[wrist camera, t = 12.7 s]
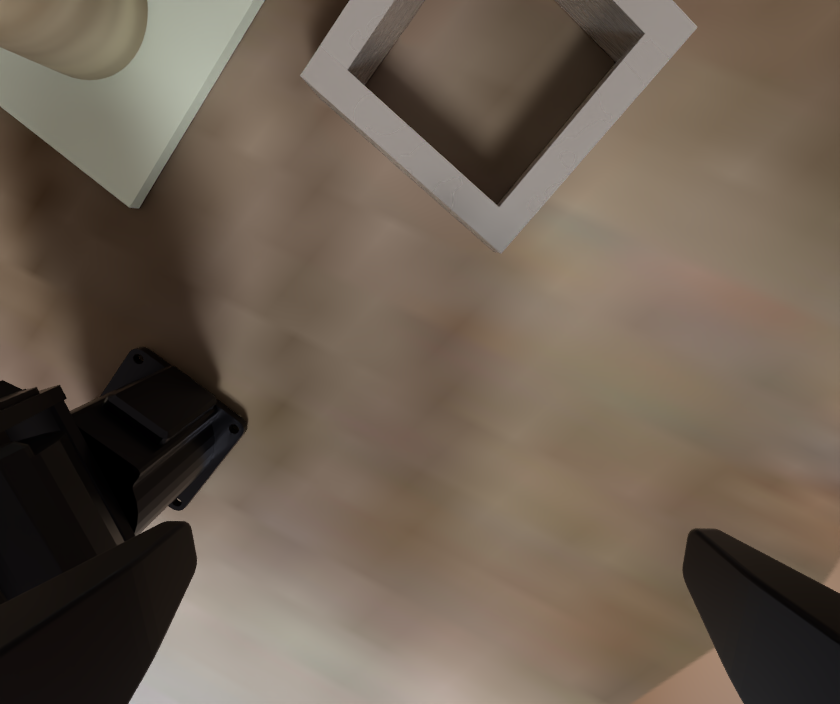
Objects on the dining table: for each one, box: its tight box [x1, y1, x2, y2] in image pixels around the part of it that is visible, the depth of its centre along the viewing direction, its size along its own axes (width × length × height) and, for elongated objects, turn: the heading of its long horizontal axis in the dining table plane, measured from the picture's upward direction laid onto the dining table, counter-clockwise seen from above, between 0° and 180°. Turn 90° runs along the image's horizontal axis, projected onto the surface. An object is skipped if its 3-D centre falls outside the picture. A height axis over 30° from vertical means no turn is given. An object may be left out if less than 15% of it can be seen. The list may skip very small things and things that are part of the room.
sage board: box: [0, 0, 265, 209], centre depth 17 cm, size 11×11×1 cm
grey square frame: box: [300, 0, 697, 253], centre depth 16 cm, size 10×10×2 cm
